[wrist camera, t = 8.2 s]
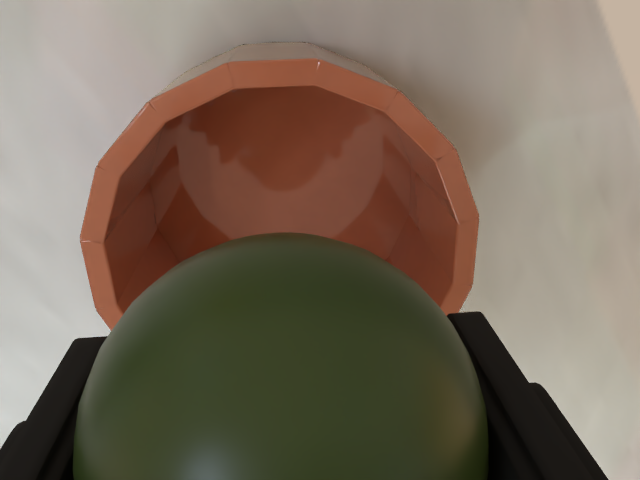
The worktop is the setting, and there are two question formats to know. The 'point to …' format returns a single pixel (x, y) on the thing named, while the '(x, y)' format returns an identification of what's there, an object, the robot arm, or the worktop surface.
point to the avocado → (282, 374)
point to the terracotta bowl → (278, 174)
